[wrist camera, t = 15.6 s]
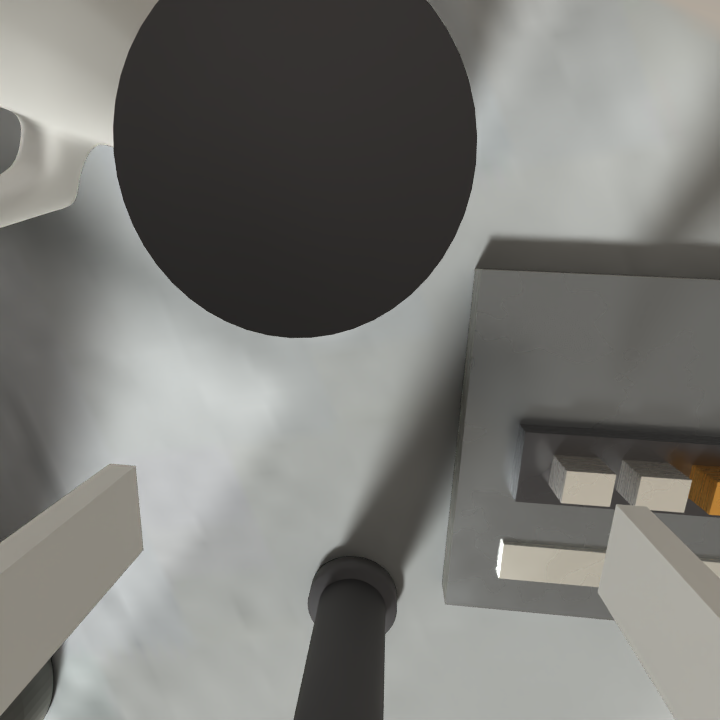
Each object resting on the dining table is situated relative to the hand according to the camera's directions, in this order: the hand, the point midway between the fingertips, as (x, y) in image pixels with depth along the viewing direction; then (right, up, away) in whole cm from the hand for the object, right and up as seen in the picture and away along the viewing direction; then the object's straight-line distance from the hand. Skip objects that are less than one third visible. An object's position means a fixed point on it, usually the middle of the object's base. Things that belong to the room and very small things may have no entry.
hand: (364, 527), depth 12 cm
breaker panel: (+11, +1, +5) cm, 13 cm away
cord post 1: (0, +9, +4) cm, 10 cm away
